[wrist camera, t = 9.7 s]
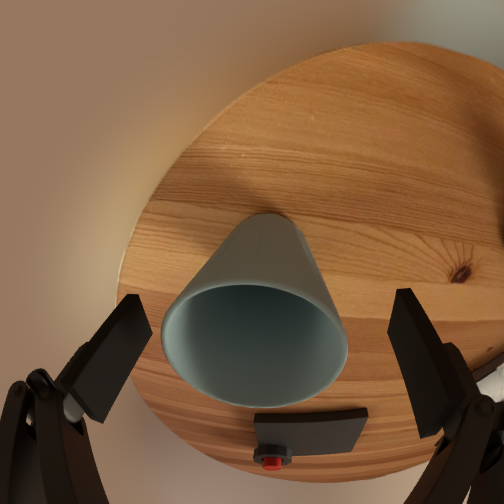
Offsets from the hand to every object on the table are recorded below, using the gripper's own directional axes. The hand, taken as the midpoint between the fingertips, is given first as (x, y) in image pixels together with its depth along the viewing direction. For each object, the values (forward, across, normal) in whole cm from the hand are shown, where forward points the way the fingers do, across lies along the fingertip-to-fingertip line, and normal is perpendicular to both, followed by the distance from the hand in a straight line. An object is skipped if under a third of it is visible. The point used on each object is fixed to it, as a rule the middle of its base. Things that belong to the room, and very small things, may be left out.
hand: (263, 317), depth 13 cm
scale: (+8, +4, -28) cm, 29 cm away
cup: (+8, 0, 0) cm, 8 cm away
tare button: (+5, -1, -32) cm, 32 cm away
